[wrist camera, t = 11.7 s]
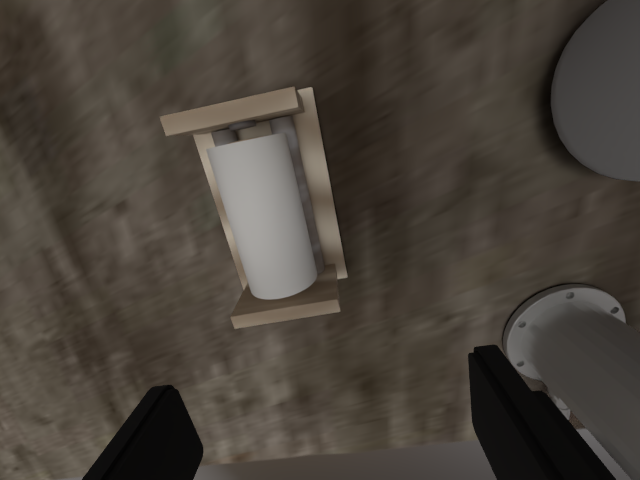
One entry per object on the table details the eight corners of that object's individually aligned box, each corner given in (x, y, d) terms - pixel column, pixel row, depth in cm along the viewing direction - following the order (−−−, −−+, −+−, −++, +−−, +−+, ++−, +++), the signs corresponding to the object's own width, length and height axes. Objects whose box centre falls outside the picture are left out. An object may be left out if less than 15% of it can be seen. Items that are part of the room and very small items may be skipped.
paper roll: (321, 262, 29) (311, 296, 23) (263, 270, 30) (240, 303, 24) (293, 130, 25) (272, 132, 19) (226, 144, 26) (189, 150, 20)
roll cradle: (346, 272, 32) (353, 315, 25) (247, 289, 33) (225, 336, 25) (312, 88, 26) (307, 72, 18) (192, 115, 27) (141, 110, 19)
